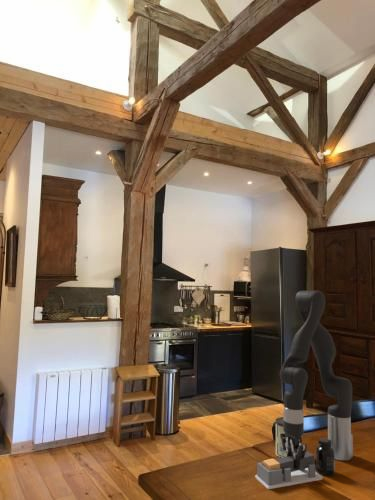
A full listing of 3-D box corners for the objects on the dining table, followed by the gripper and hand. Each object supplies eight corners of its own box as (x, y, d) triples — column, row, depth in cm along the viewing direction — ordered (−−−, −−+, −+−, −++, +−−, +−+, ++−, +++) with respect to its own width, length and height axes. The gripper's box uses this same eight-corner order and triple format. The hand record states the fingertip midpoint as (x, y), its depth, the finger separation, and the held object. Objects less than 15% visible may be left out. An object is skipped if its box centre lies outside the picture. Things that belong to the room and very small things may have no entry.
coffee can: (298, 451, 170) (298, 418, 172) (300, 461, 160) (300, 426, 162) (274, 448, 172) (275, 415, 174) (275, 458, 162) (275, 423, 164)
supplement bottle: (334, 469, 153) (334, 438, 155) (335, 477, 147) (334, 444, 148) (316, 466, 156) (316, 435, 157) (316, 474, 149) (315, 442, 150)
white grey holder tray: (307, 468, 154) (307, 454, 154) (322, 479, 145) (322, 464, 146) (254, 477, 145) (255, 462, 146) (268, 489, 137) (268, 473, 137)
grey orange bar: (308, 461, 151) (307, 450, 152) (315, 466, 147) (314, 454, 148) (263, 472, 144) (262, 460, 144) (270, 478, 140) (269, 465, 140)
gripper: (313, 425, 143) (313, 473, 141) (290, 413, 156) (290, 457, 154) (296, 426, 140) (296, 476, 138) (274, 414, 153) (274, 460, 152)
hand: (293, 466), depth 146 cm, fingers closed on grey orange bar, 3 cm apart
